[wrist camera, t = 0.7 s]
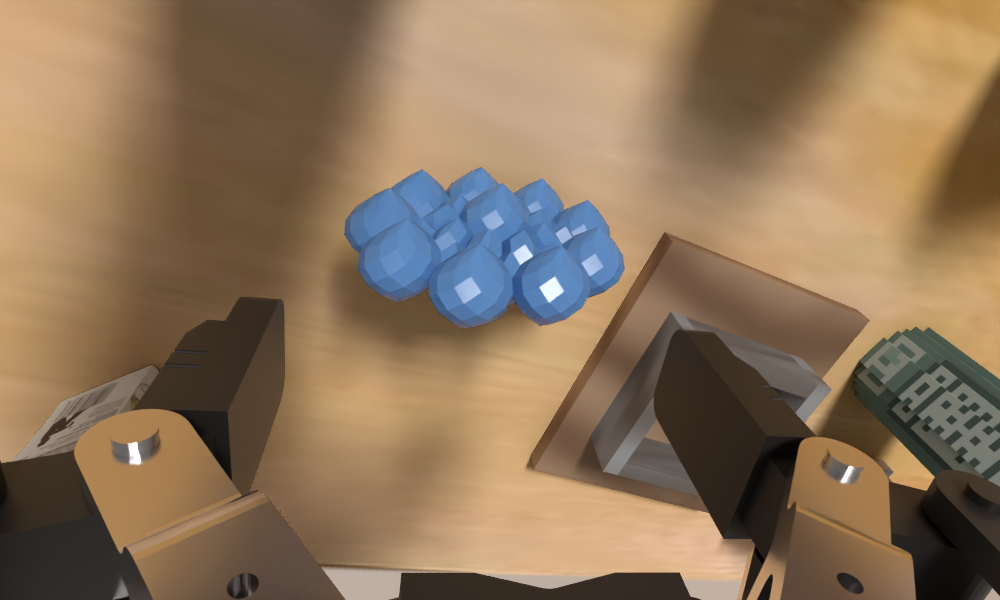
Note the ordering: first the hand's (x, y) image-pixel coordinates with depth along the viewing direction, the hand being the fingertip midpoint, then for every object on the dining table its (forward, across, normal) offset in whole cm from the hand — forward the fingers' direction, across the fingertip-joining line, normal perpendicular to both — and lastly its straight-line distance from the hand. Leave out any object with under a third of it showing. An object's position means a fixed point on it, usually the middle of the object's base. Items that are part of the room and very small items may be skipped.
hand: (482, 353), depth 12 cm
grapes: (+19, -2, +3) cm, 19 cm away
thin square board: (+19, -17, +13) cm, 29 cm away
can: (+19, -31, +11) cm, 38 cm away
